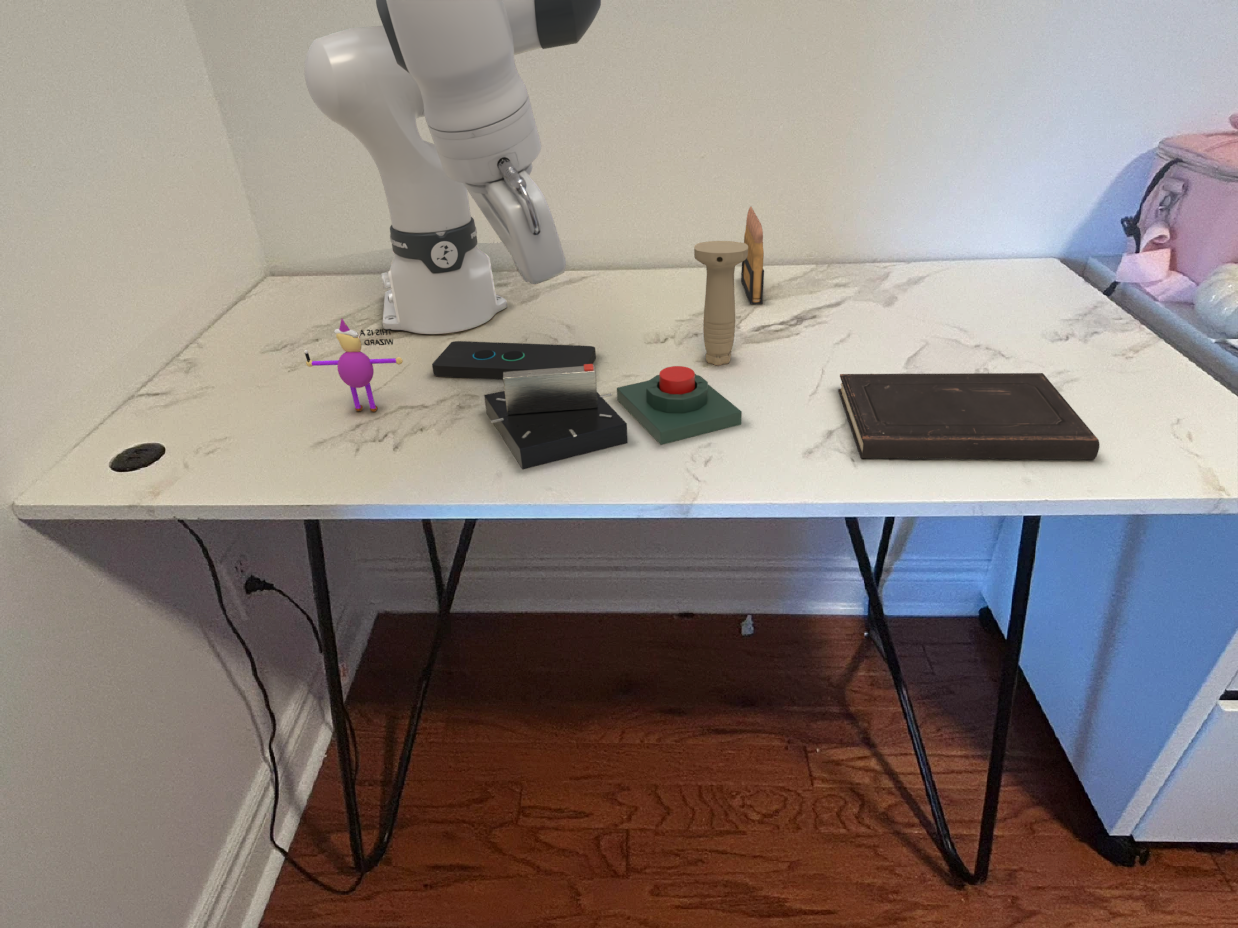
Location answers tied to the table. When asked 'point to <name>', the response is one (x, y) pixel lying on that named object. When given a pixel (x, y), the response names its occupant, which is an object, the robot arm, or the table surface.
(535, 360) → the smart home device
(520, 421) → the control panel
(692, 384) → the button
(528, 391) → the knob
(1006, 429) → the hardcover book
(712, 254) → the handle
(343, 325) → the wizard figurine
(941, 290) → the table surface
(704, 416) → the button box
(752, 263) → the ammunition clip
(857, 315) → the table surface
